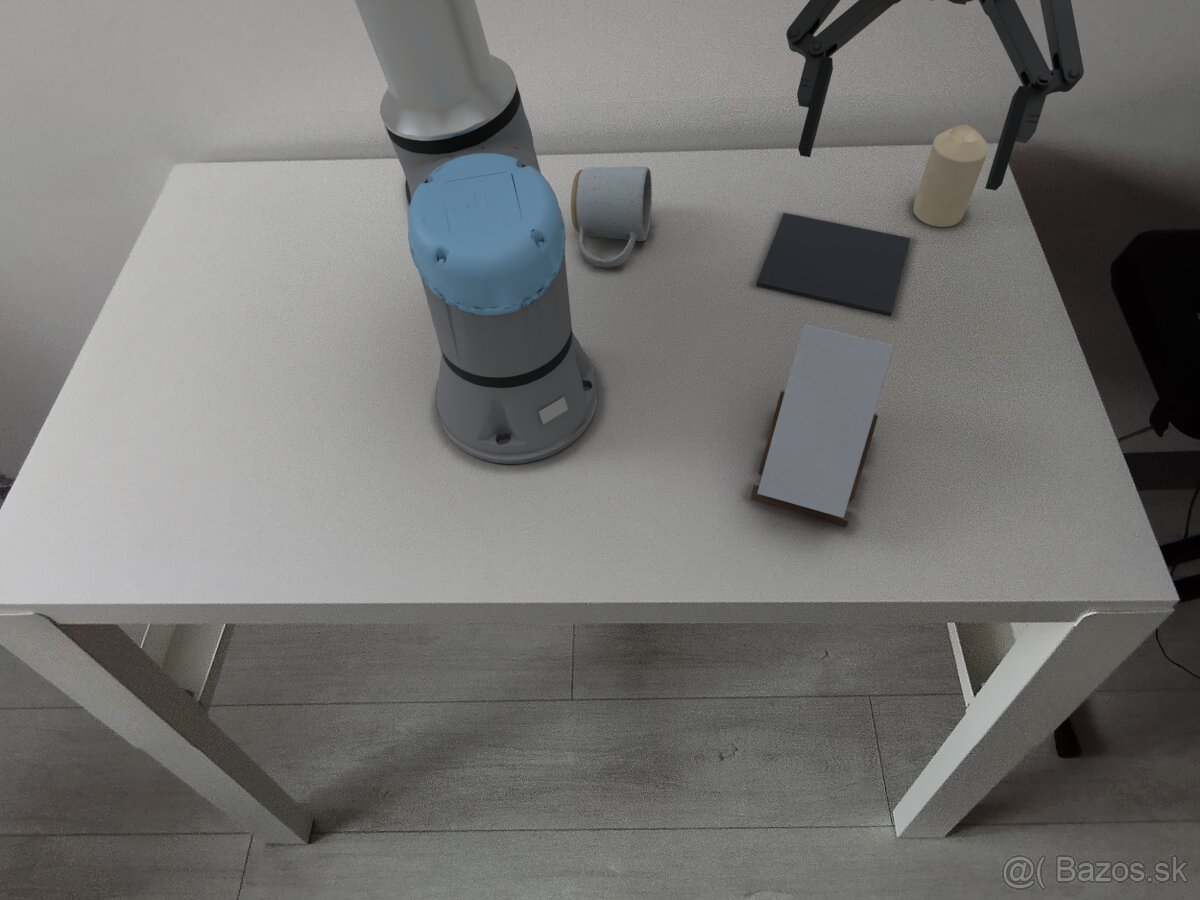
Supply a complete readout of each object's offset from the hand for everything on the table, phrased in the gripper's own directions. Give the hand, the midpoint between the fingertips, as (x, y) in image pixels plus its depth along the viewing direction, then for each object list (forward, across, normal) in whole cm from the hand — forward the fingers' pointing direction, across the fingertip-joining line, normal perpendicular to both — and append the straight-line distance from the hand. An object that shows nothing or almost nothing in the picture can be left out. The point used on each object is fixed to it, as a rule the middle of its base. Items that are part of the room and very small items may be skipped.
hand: (896, 169), depth 62 cm
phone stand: (+25, 0, -10) cm, 27 cm away
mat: (+5, +4, -28) cm, 29 cm away
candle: (-3, -6, -37) cm, 38 cm away
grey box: (+24, 0, -9) cm, 26 cm away
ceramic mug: (+8, +28, -26) cm, 39 cm away
